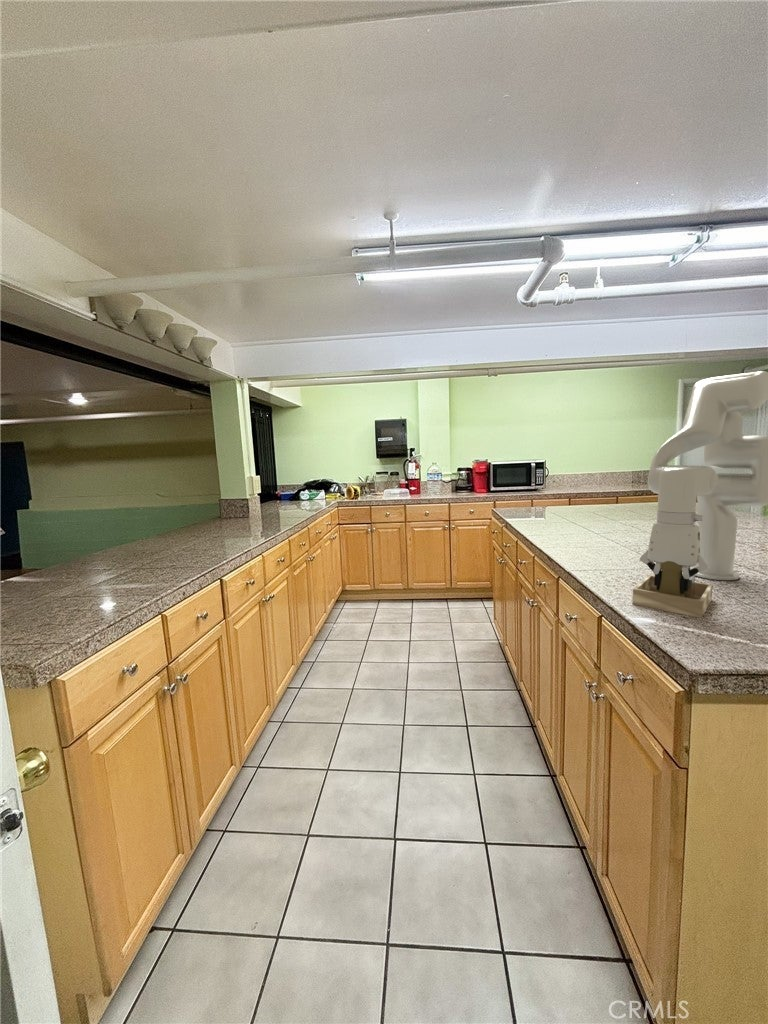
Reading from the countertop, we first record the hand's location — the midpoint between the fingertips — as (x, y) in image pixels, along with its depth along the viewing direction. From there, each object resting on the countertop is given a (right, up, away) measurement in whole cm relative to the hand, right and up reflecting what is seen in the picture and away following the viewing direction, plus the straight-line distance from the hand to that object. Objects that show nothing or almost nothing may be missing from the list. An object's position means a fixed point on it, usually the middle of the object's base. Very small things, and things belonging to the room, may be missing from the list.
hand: (670, 590), depth 102 cm
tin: (+5, -3, +5) cm, 8 cm away
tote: (+2, -4, +3) cm, 5 cm away
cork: (0, -3, 0) cm, 3 cm away
